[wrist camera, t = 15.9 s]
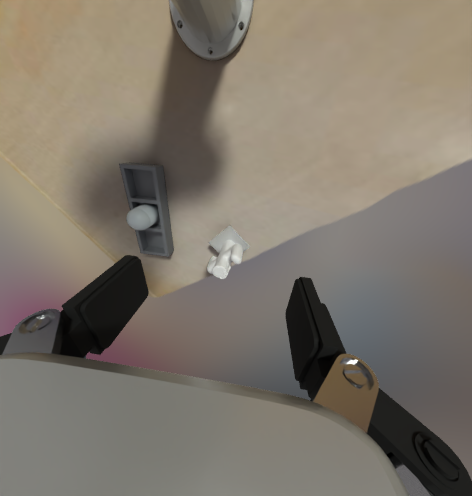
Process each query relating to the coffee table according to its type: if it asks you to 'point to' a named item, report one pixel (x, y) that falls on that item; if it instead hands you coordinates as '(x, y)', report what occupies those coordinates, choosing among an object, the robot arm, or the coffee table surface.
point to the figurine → (226, 252)
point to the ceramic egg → (143, 216)
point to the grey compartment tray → (154, 192)
